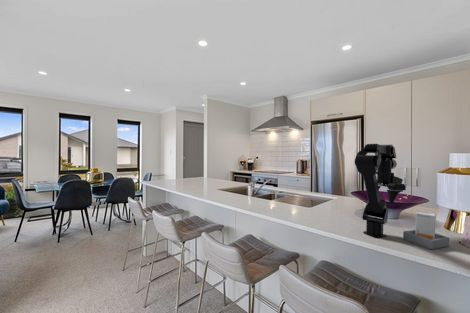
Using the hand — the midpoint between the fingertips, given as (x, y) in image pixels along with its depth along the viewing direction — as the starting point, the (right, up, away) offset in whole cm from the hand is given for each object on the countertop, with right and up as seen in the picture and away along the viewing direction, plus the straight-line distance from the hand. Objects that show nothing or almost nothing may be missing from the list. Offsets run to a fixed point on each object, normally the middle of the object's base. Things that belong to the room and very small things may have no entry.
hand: (383, 202), depth 106 cm
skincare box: (+5, -13, -17) cm, 22 cm away
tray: (+6, -13, -17) cm, 22 cm away
